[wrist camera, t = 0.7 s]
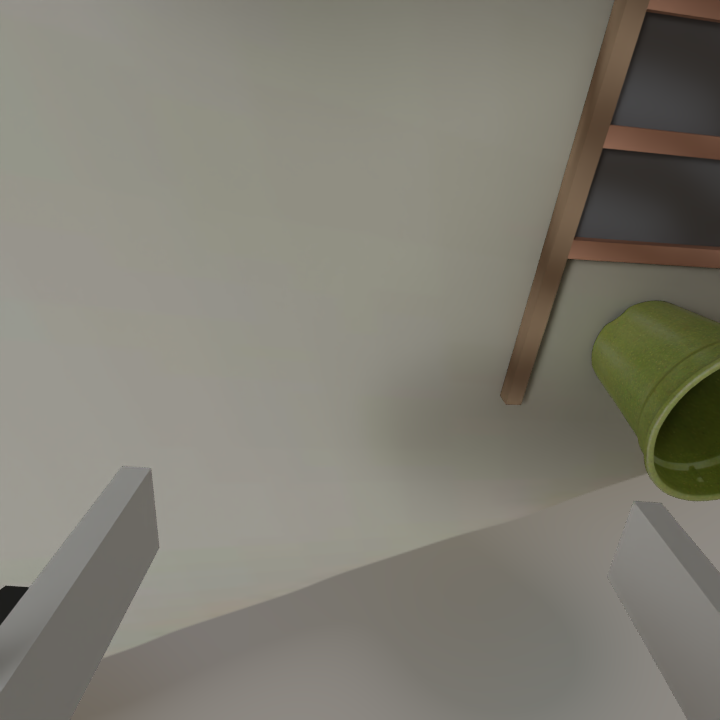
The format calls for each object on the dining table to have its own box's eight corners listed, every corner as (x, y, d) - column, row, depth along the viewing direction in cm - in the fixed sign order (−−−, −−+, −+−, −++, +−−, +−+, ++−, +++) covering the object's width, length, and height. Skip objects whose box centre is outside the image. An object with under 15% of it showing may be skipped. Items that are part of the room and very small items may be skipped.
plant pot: (551, 411, 33) (626, 510, 26) (580, 277, 29) (683, 352, 21) (681, 399, 34) (790, 492, 27) (731, 268, 30) (880, 336, 22)
